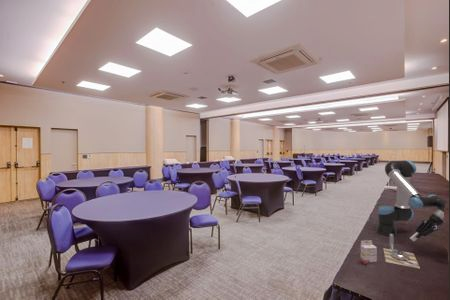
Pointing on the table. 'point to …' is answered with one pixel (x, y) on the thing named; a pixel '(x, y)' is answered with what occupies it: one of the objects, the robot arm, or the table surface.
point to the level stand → (402, 262)
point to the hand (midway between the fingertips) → (411, 239)
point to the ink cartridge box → (368, 252)
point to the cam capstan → (396, 253)
